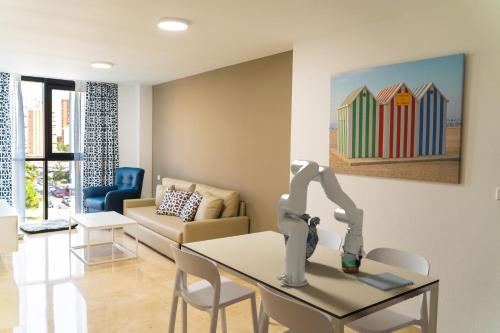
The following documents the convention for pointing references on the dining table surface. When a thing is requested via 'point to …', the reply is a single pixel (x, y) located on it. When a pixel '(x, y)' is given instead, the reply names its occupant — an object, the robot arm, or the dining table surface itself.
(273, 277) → the dining table surface
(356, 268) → the food container
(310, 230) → the decorative vase
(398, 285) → the slate mat
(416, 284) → the dining table surface
